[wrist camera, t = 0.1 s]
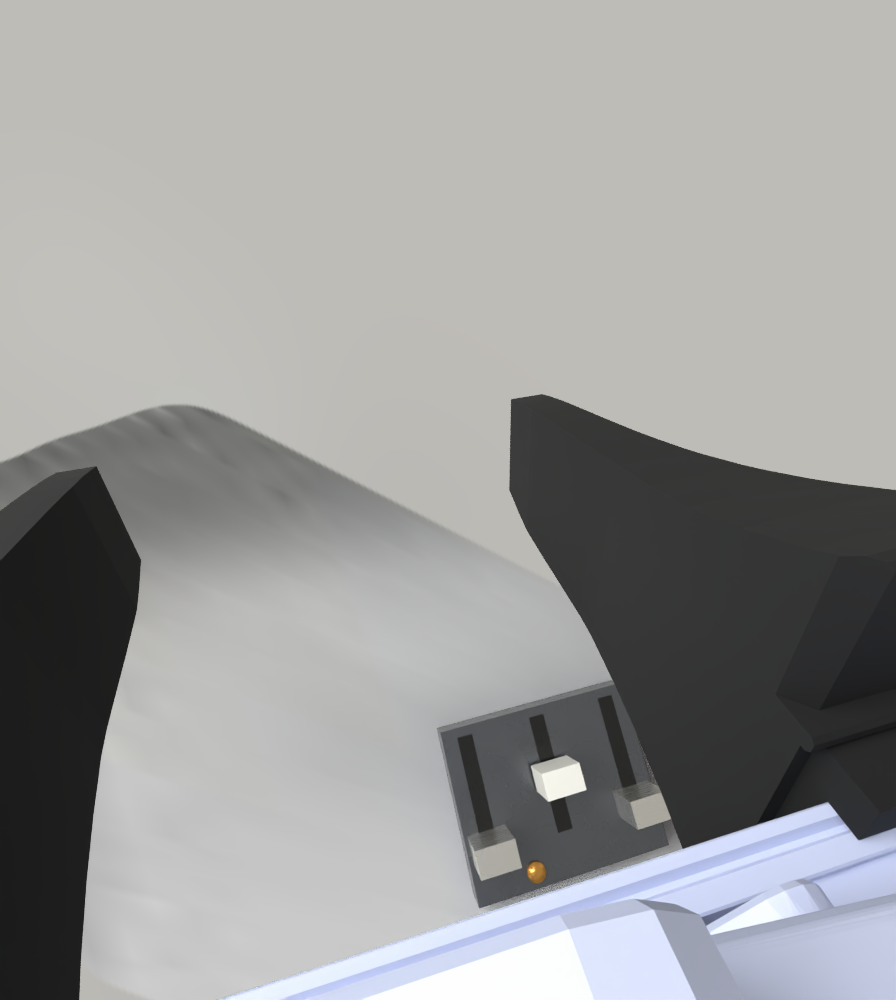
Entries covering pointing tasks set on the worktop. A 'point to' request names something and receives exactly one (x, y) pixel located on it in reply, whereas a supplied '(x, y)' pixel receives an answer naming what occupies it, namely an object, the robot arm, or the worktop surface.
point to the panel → (528, 815)
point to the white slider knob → (558, 778)
